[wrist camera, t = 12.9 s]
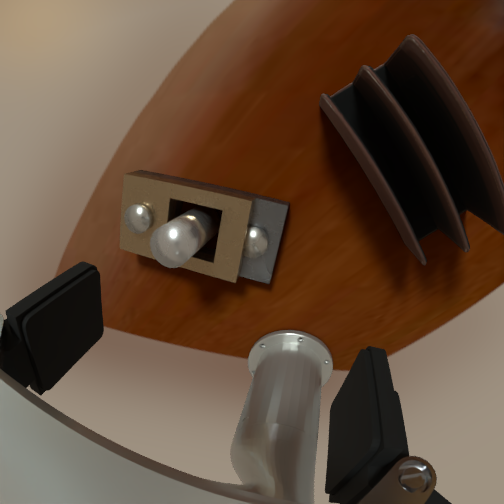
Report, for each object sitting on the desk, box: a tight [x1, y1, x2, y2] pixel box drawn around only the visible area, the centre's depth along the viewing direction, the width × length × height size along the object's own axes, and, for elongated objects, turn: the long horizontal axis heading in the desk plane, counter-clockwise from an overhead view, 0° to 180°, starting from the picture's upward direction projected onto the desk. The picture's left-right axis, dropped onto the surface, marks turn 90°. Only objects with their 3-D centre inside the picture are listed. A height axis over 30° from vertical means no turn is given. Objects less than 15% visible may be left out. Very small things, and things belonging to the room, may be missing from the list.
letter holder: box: [319, 34, 504, 265], centre depth 25 cm, size 10×20×14 cm, turn 36°
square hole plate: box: [120, 170, 290, 284], centre depth 37 cm, size 20×10×5 cm, turn 79°
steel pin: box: [150, 205, 221, 268], centre depth 35 cm, size 4×4×10 cm
